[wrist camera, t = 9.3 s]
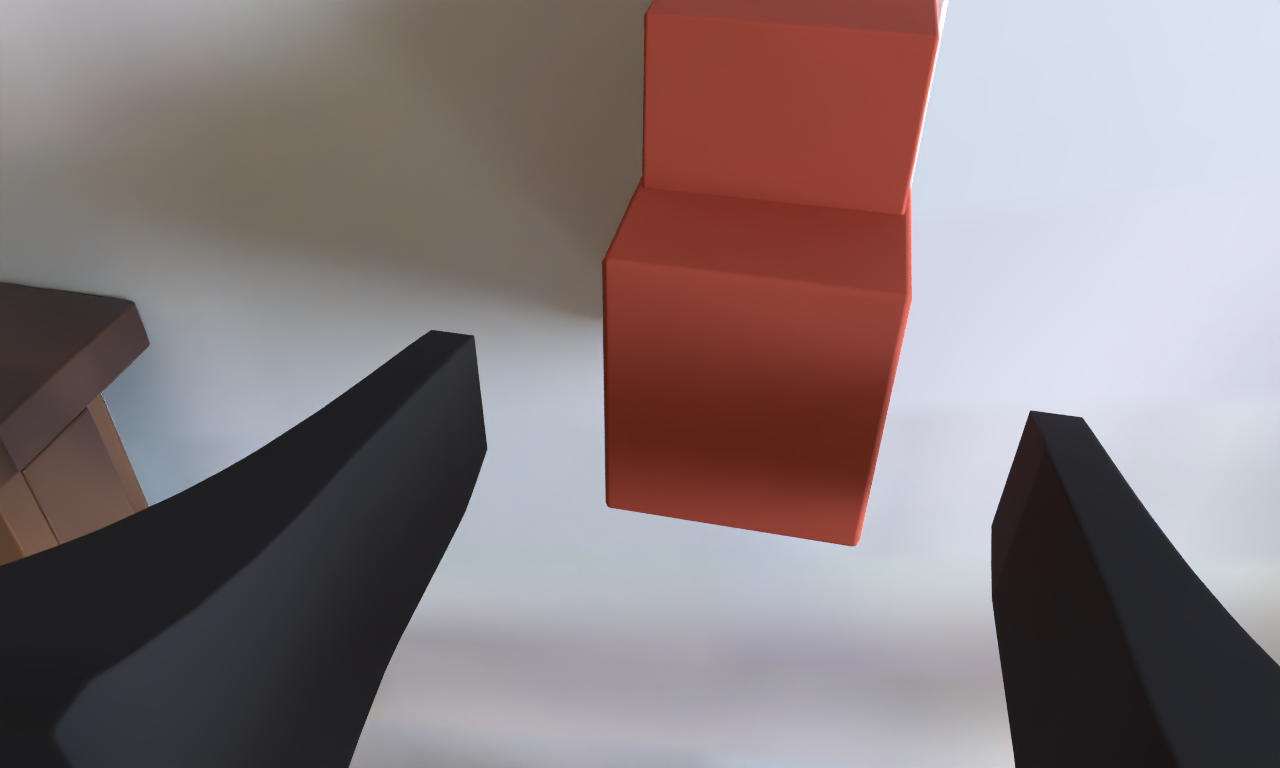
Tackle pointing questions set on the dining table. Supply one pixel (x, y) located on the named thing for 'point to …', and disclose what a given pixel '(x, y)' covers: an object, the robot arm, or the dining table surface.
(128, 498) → the brown flanged block
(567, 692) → the dining table surface
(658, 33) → the stepped red block
